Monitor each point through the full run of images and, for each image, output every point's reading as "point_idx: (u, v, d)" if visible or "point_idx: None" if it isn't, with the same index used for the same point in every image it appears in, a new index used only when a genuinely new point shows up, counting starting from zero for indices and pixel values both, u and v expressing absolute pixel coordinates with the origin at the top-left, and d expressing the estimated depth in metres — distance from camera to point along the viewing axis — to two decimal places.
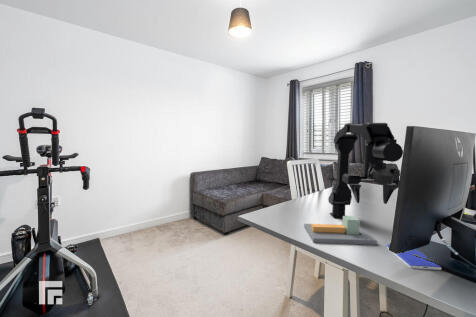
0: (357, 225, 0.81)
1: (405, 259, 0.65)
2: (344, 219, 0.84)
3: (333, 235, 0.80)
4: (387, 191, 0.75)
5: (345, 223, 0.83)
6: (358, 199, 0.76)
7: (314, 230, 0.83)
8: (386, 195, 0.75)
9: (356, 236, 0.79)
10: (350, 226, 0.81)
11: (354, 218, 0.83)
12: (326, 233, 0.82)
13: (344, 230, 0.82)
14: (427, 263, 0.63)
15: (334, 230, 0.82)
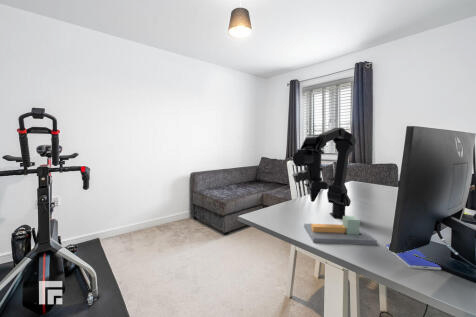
0: (357, 225, 0.81)
1: (405, 259, 0.65)
2: (344, 219, 0.84)
3: (333, 235, 0.80)
4: None
5: (345, 223, 0.83)
6: (310, 197, 0.92)
7: (314, 230, 0.83)
8: None
9: (356, 236, 0.79)
10: (350, 226, 0.81)
11: (354, 218, 0.83)
12: (326, 233, 0.82)
13: (344, 230, 0.82)
14: (427, 262, 0.63)
15: (334, 230, 0.82)
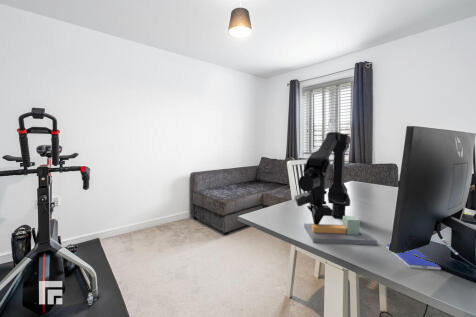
0: (357, 225, 0.81)
1: (404, 258, 0.65)
2: (344, 219, 0.84)
3: (333, 235, 0.80)
4: None
5: (345, 223, 0.83)
6: None
7: (314, 231, 0.82)
8: None
9: (356, 236, 0.79)
10: (350, 226, 0.81)
11: (354, 218, 0.83)
12: (326, 233, 0.82)
13: (345, 231, 0.82)
14: (427, 262, 0.63)
15: (335, 231, 0.82)
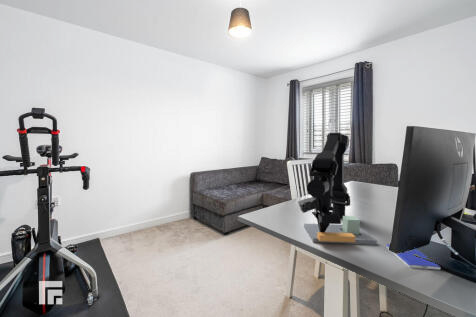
0: (357, 225, 0.81)
1: (404, 258, 0.65)
2: (344, 219, 0.84)
3: None
4: None
5: (345, 223, 0.83)
6: (319, 229, 0.79)
7: (320, 239, 0.75)
8: None
9: (356, 236, 0.79)
10: (350, 226, 0.81)
11: (354, 218, 0.83)
12: None
13: (354, 239, 0.74)
14: (426, 262, 0.63)
15: (343, 239, 0.75)
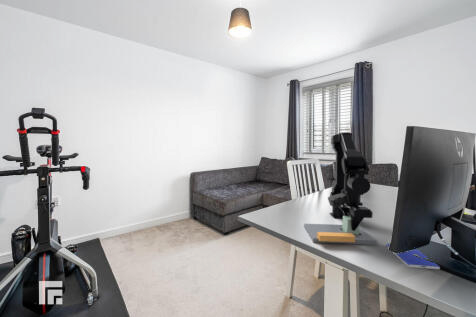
0: None
1: (403, 258, 0.66)
2: (344, 219, 0.84)
3: None
4: None
5: (345, 223, 0.83)
6: None
7: (320, 239, 0.75)
8: None
9: (356, 236, 0.79)
10: (350, 226, 0.81)
11: None
12: None
13: (354, 239, 0.74)
14: (426, 262, 0.63)
15: (343, 239, 0.75)
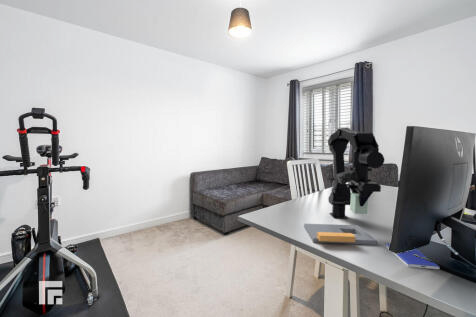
0: None
1: (403, 258, 0.66)
2: (352, 196, 0.85)
3: None
4: None
5: (353, 200, 0.84)
6: None
7: (320, 239, 0.75)
8: None
9: (356, 236, 0.79)
10: (358, 201, 0.82)
11: None
12: None
13: (354, 239, 0.74)
14: (426, 262, 0.63)
15: (343, 239, 0.75)
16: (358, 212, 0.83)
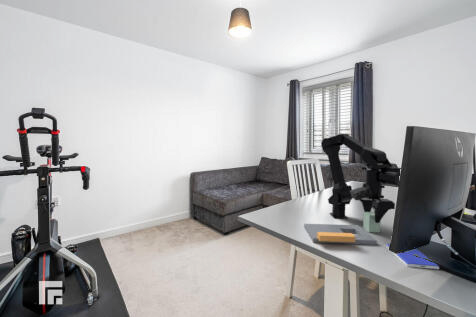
0: None
1: (403, 258, 0.66)
2: (365, 215, 0.89)
3: None
4: None
5: (367, 219, 0.88)
6: None
7: (320, 239, 0.75)
8: None
9: (356, 236, 0.79)
10: (371, 221, 0.86)
11: None
12: None
13: (354, 239, 0.74)
14: (425, 262, 0.63)
15: (343, 239, 0.75)
16: (372, 230, 0.87)
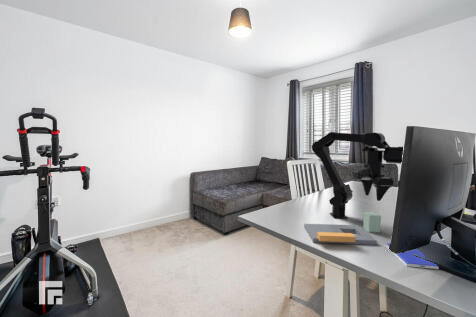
0: (379, 220, 0.86)
1: (402, 257, 0.66)
2: (365, 215, 0.89)
3: None
4: None
5: (367, 219, 0.88)
6: (365, 192, 0.98)
7: (320, 239, 0.75)
8: None
9: (356, 236, 0.79)
10: (371, 221, 0.86)
11: (375, 214, 0.88)
12: None
13: (354, 239, 0.74)
14: (425, 262, 0.64)
15: (343, 239, 0.75)
16: (372, 230, 0.87)
